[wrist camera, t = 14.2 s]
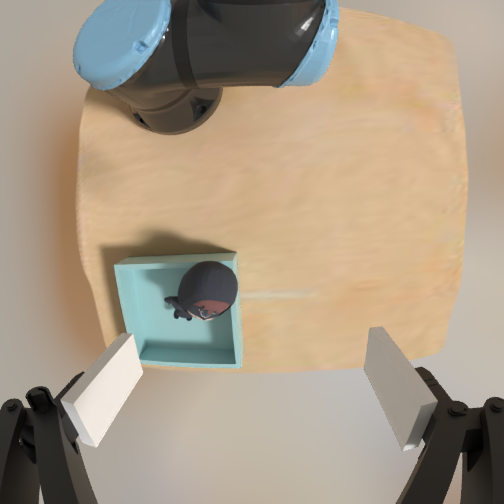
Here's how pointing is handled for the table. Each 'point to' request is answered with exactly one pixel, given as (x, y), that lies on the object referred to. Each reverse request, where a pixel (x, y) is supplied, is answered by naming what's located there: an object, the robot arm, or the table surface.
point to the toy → (205, 291)
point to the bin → (161, 314)
